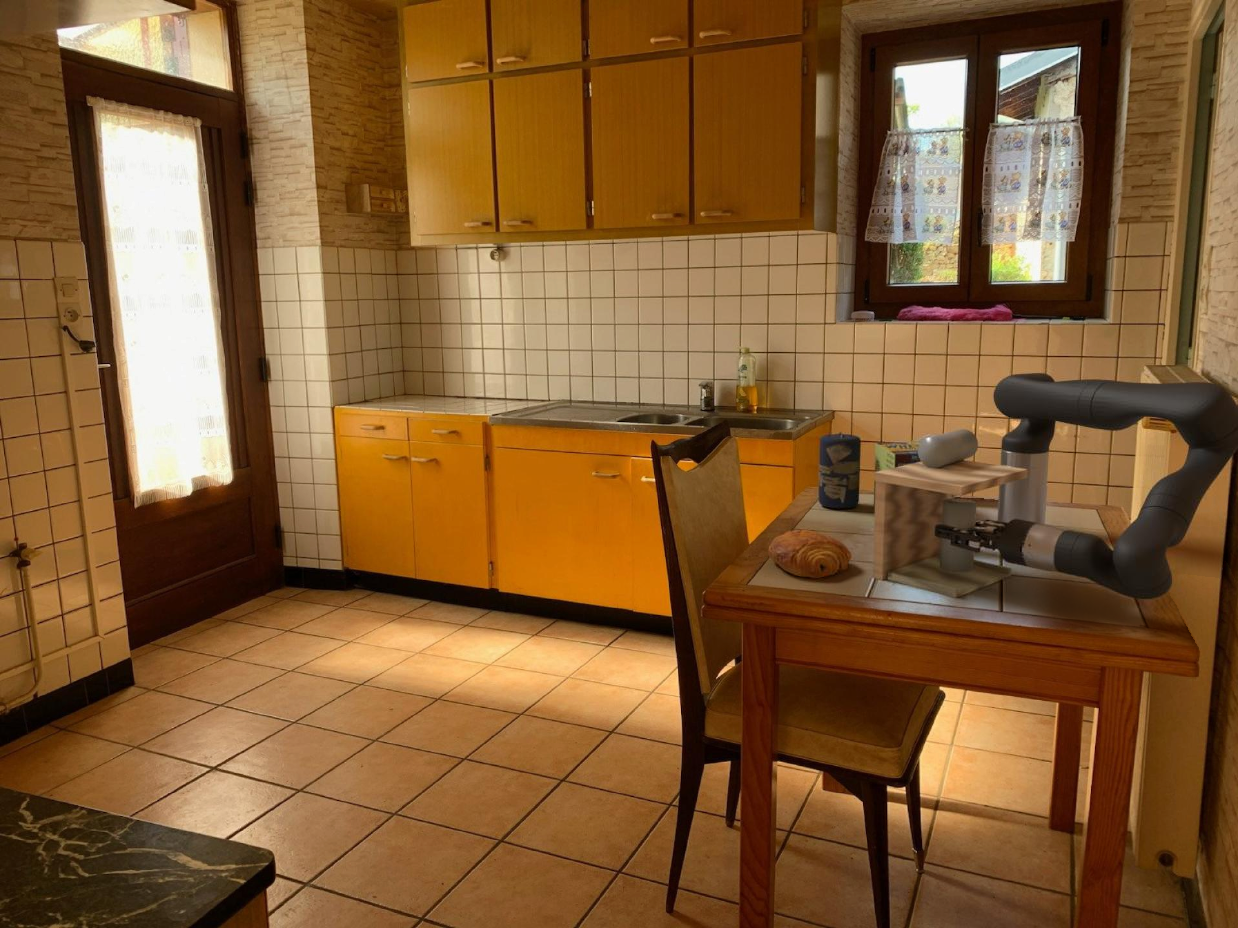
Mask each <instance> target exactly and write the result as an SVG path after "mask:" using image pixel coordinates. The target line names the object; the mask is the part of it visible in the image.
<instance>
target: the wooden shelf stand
mask: <svg viewBox="0 0 1238 928" xmlns="http://www.w3.org/2000/svg"><path fill="white" fill-rule="evenodd" d="M1024 478H1027V469H1022V468H1015V467H1008V466H1001V464H993V463H986V462H979V461H971V460H967V459H964V460H961V461H957V462H954V463H951V464H947V465H944V466H941V467H938V468H929V467H927V466H925V465H924V464H923V463H922V462H917V463H913V464H909V465H904V466H900V467H895V468H891V469H887V470H882V471H878V472H875V471H874V472H873V482H874V481H876V489H875V507H874V523H873V524H874V525H873V555H872V556H873V557H872V559H873V561H872V578H873V579H875V580H876V579H877V580H881V581H883V580H888V581H892V582H895V583H900V584H903V585H907V586H910V587H914V588H918V589H921V590H925V591H928V590H929V591H930V592H931V593H932V592H933V593H935V594H941V595H943V596H947V597H950V598H951V597H952V598H959V597H962V596H963V595H966V594H969V593H972V592H974V591H976V590H977V591H978V590H979V589H982V588H984V587H986V586H989V585H991V584H994V583H996V582H998V581H1001V580H1005V579H1007V578H1009V577H1012V571H1013V569H1012V567H1007V566H1003V565H1000V564H994V563H991V562H986V561H982V560H977V559H974V562H973V570H972V571H969V572H951V571H947V570H944V569H942V568H940V552H941V538H939V537H936V536H935V526H936V525H938V524H941V525H942V507H943V500H945V499H948V494H953V495H957V496H960V497H961V496H966V495H970V494H972V493H973V494H974V493H976V492H980V491H984V490H986V489H991V488H995V487H999V485H1002V484H1006V483H1009V482H1013V481H1017V480H1020V479H1024ZM929 591H928V592H929Z"/></svg>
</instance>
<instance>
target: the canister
mask: <svg viewBox="0 0 1238 928" xmlns="http://www.w3.org/2000/svg"><path fill="white" fill-rule="evenodd" d="M861 441H862V440H861V438H860V437H859V436H858V435H854V434H849V433H848V434H846V433H843V432H842V431H839V433H831V434H830V433H829V434H825V435H822V436H821V437H820V440H819V454H818V455H819V458H818V459H819V460H818V491H817V492H818V495H817V496H818V503H819V504H820V505H821V506H824V507H825V508H826V507H827V508H833V509H849V508H854V507H857V505H858V504H859V502H860V483H861V481H860V480H861V479H860V478H861V453H862V452H861V450H862V449H861V447H862V446H861V445H862V442H861Z"/></svg>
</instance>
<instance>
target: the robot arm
mask: <svg viewBox="0 0 1238 928" xmlns="http://www.w3.org/2000/svg"><path fill="white" fill-rule="evenodd" d="M992 396H993V402H994V405H995V407H996V409H997V410H998V411H999V412H1000V413H1001V414H1002V415H1004V416H1005V417H1007V418H1010V419H1015V420H1020V422H1019V423H1018V425H1016V427H1015V428H1013V430H1011V431H1009V432H1007V433H1006V434H1004V435H1003V436H1002V438H1001V445H1000V446H1001V450H1000V451H1001V452H1000V465H1001V466H1008V467H1015V468H1022V469H1027V478H1024V479H1020V480H1017V481H1013V482H1009V483H1006V484H1002V485H999V486H998V502H997V518H996V519H997V520H991V519H987V518H986V519H984V521H983V520H980V519H979V520H976V523H975V527H974V526H970V527H969V528H968V529H965V528H958V527H950V526H946V525H941V524H938V525H936V526H935V536H936V537H939V538H944V539H949V540H951V542H950V545H953V546H956V547H960V548H963V549H966V550H970V551H973V552H974V553H981V549H983V550H984V551H994V552H995V551H996V550H998V551H999V553H1000V555H1001V559H1003V560H1004V561H1005V562H1006V563H1007V564H1013V565H1018V566H1022V567H1026V568H1032V569H1036V570H1039V571H1045V572H1055V573H1061V574H1065V575H1070V576H1074V577H1079V578H1085V579H1087V580H1090V581H1092V582H1094V583H1096V584H1097V585H1099V586H1101V587H1104V588H1106V589H1108V590H1111V591H1113V592H1115V593H1118V594H1119V595H1123V596H1126V597H1129V598H1130V599H1131V598H1132V599H1136V600H1154V599H1157V598H1160V597H1162V596H1164V595H1165V594H1167V593H1168V592H1169V591H1170V589H1171V587H1172V585H1173V575H1172V572H1171V571H1172V570H1171V569H1170V564H1169V562H1168V559H1167V555H1166V554H1167V550H1168V548H1169V549H1170V548H1173V547H1176V546H1178V545H1179V544H1180V543H1181V542H1182V541H1183V540H1184V538H1185V536H1186V535H1187V533H1188V531H1189V528H1190V526H1191V524H1192V522H1193V519H1194V516H1195V515H1196V512H1197V509H1198V507H1199V506H1200V504H1201V501H1202V500H1203V498H1204V496H1205V495H1206V493H1207V492H1208V490H1209V488H1210V487H1211V486H1212V484H1213V482H1214V481H1215V480H1216V479H1217V478H1218V476H1219V475H1220V473H1221V472H1222V471H1223V470H1224V468H1225V466H1226V465H1227V464H1228V462H1229V461H1230V460H1231V458H1232V457H1233V455H1235V453H1236V452H1237V450H1238V404H1237V403H1236V401H1235V399H1234V397H1233V396H1232V394H1231V393H1230V391H1228V389H1226V387H1224V386H1222V385H1220V384H1217V383H1213V382H1206V381H1205V382H1203V381H1200V382H1199V381H1195V382H1194V381H1193V382H1191V381H1190V382H1170V383H1169V382H1168V383H1166V382H1165V383H1161V382H1160V383H1156V382H1155V383H1151V382H1132V381H1122V380H1121V381H1119V380H1112V379H1097V378H1096V379H1095V378H1094V379H1091V378H1090V379H1088V378H1087V379H1072V380H1061V381H1060V380H1059V381H1055V379H1054V378H1053V377H1052V376H1051V375H1049V374H1048V373H1043V372H1033V373H1032V372H1031V373H1028V372H1027V373H1016V374H1015V373H1014V374H1011V375H1008V376H1006V377H1004V378H1002V379H1001V380H1000V381H999V382H998V383H997V385H996V386H995V388H994V390H993V395H992ZM1144 418H1157V419H1162V420H1165V421H1168V422H1170V423H1171V424H1173V425H1174V427H1175V429H1176V430H1177V432H1178V434H1179V435H1180V436H1181V438H1182V440H1183V441H1184V442H1185V443H1186V444H1187V446H1188V450H1187V454H1186V458H1185V461H1184V463H1183V465H1182V467H1181V468H1180V469H1178V470H1176V471H1174V472H1172V473H1170V474H1167V475H1166V476H1164V477H1162V478H1161V479H1159V480H1158V481H1157V482H1156V483H1155V484H1154V485H1153V486H1152V488H1151V489H1150V490H1149V492H1148V493H1147V495H1146V497H1145V500H1143V501H1144V502H1143V504H1142V505H1141V508H1140V510H1139V513H1138V515H1137V517H1136V519H1134V521H1132V522H1131V523H1130V524H1129V526H1127V528H1126V529H1125V530H1124V531H1123V532H1122V533H1121V534H1120V535H1119V537H1117V540H1116V542H1115V544H1114V546H1113V549H1112V548H1111V547H1110V546H1109V545H1108V544H1107V543H1106V542H1105V540H1104V539H1103V538H1102V537H1100V536H1098V535H1096V534H1092V533H1086V532H1079V531H1074V530H1070V529H1065V528H1062V527H1060V526H1055V525H1052V524H1046V515H1047V514H1046V512H1047V511H1046V509H1047V498H1048V475H1049V474H1048V472H1049V460H1050V459H1049V457H1050V446H1051V443H1052V440H1053V439H1054V436H1055V430H1056V424H1057V423H1056V422H1059V423H1064V424H1066V425H1067V424H1068V425H1073V426H1079V427H1084V428H1088V429H1096V430H1101V431H1102V430H1103V431H1110V432H1111V431H1112V432H1113V431H1114V432H1117V431H1122V430H1125V429H1129V428H1130V427H1132V426H1134V425H1136V424H1137V423H1138V422H1140V421H1142V420H1143V419H1144ZM974 531H975V535H973V532H974Z"/></svg>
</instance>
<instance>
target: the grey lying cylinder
mask: <svg viewBox="0 0 1238 928" xmlns="http://www.w3.org/2000/svg"><path fill="white" fill-rule="evenodd" d="M978 448H979V442H978V439H977V436H976V435H975V433H973V431H970V430H969V429H964V428H960V429H956V430H951V431H948V432H945V433H940V434H938V435H936V436H932V437H929V438H926V439H924V440H923V441H922V442H921V443H920V445H919V448H918V456H919V459H920V460H921V462H922V463H923V464H924V465H925V466H927V467H929V468H938V467H941V466H944V465H947V464H951V463H954V462H957V461H961V460H967V459H970V458H973V456H974V455H975V454H976V453H977V451H978Z"/></svg>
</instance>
